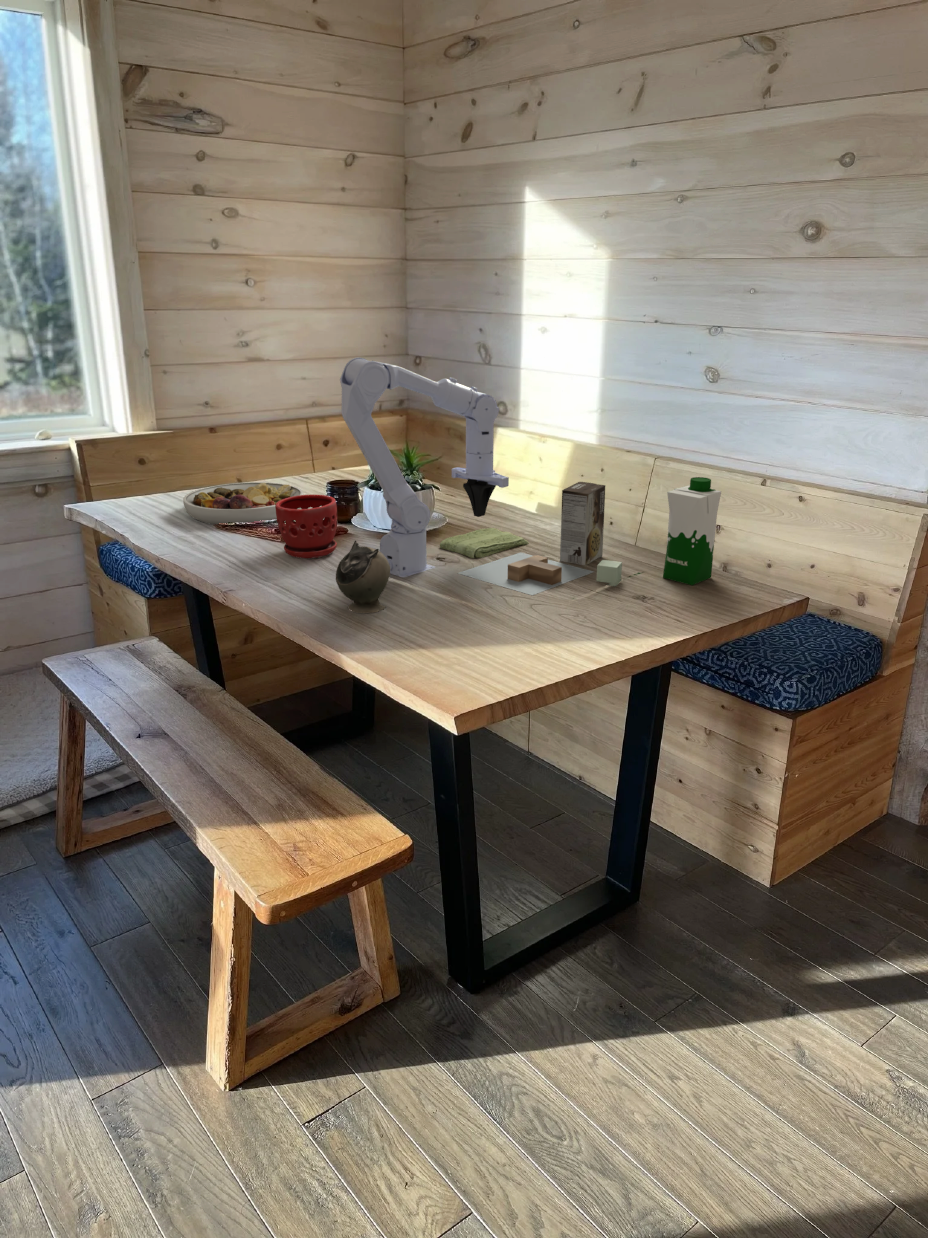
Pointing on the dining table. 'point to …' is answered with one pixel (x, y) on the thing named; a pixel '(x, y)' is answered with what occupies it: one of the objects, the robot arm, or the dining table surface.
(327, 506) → the plant pot
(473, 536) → the washcloth
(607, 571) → the sage cube
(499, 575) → the board
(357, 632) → the dining table surface
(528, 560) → the tee block
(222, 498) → the bowl
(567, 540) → the coffee box
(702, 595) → the dining table surface
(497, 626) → the dining table surface
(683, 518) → the milk carton
